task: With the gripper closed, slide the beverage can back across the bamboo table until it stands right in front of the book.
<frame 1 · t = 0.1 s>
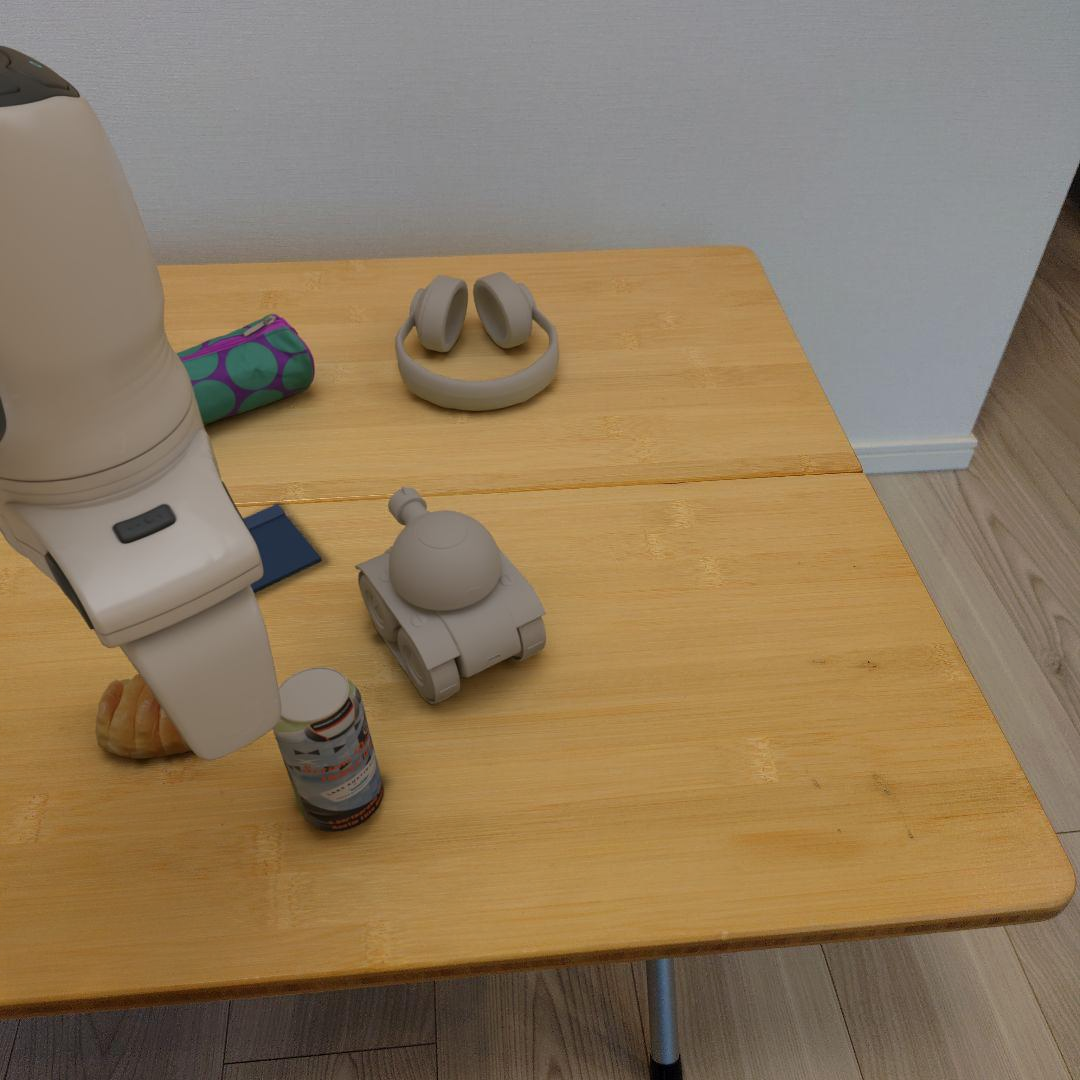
hand: (183, 671, 49), 23 cm above the table, tool pointing down, fingers open, 8 cm apart
pastry: (162, 725, 74), on the table
headphones: (477, 366, 110), on the table
pencil case: (217, 415, 103), on the table
beverage can: (340, 798, 70), on the table
toy tank: (450, 636, 81), on the table
book: (244, 557, 87), on the table
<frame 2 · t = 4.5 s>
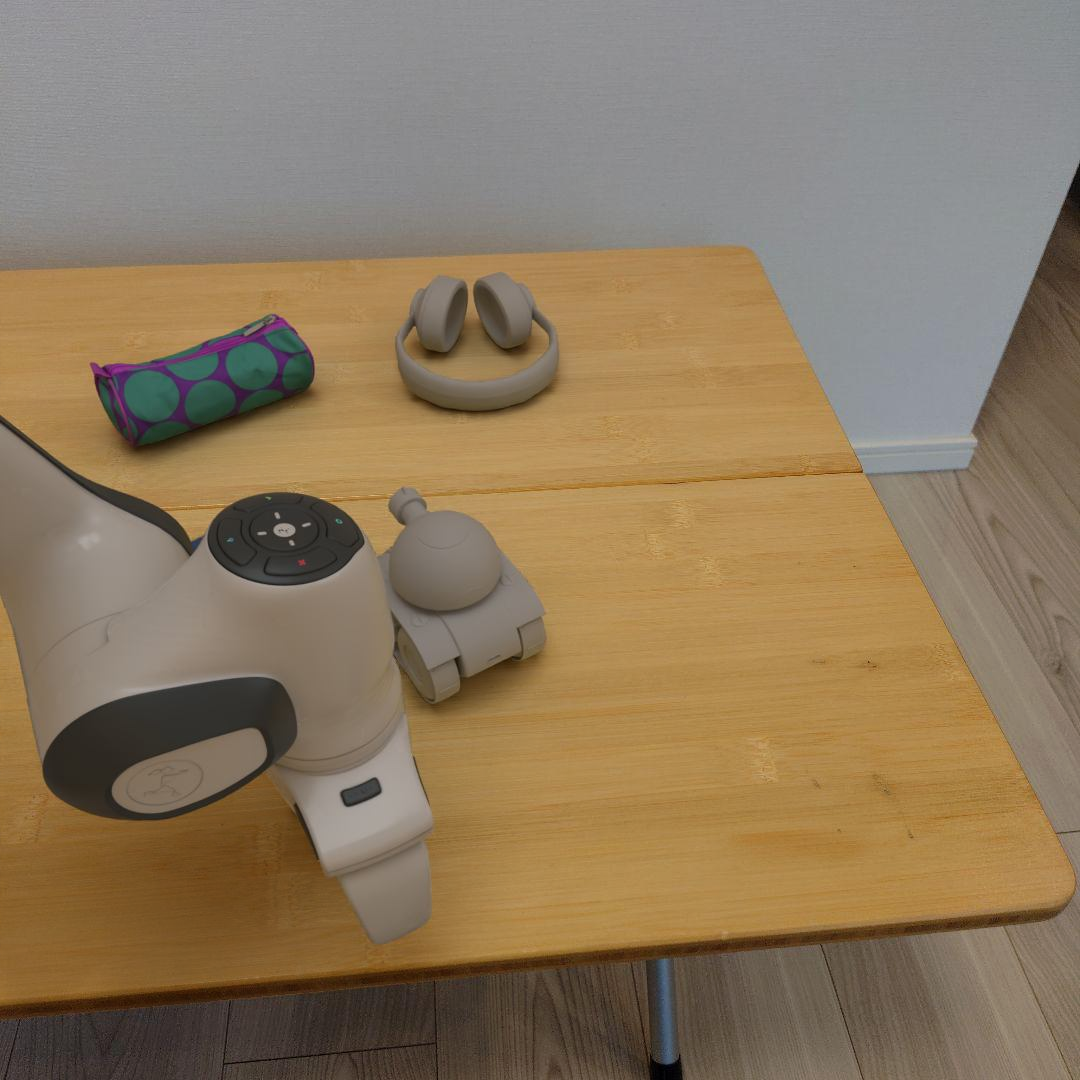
hand: (359, 839, 66), 2 cm above the table, tool pointing down, fingers closed
beverage can: (340, 795, 70), on the table, touching gripper
everything else where it was.
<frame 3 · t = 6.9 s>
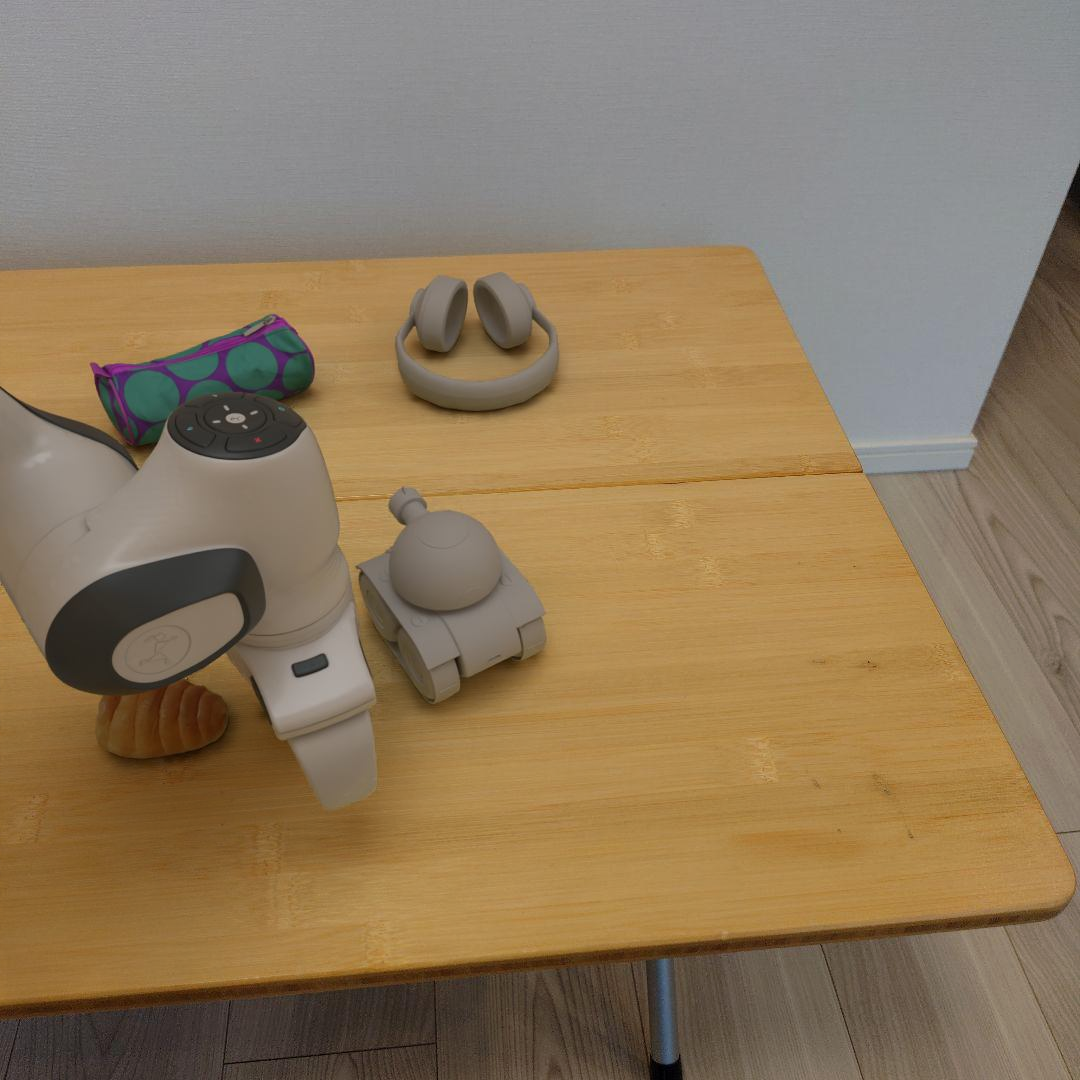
hand: (319, 733, 72), 2 cm above the table, tool pointing down, fingers closed
beverage can: (303, 700, 76), on the table, touching gripper
everything else where it was.
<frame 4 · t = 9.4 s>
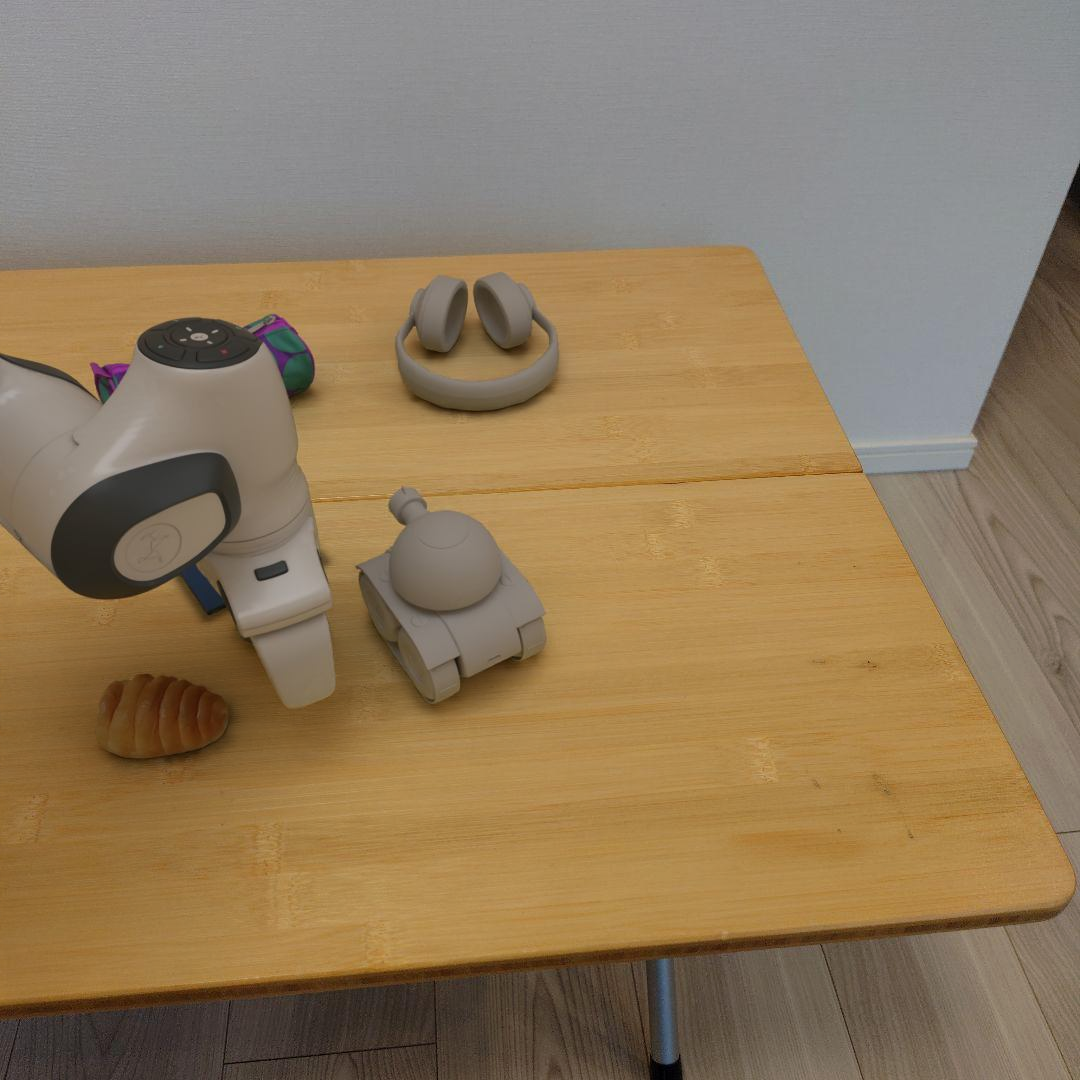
hand: (286, 651, 77), 2 cm above the table, tool pointing down, fingers closed
beverage can: (273, 625, 82), on the table, touching gripper
everything else where it was.
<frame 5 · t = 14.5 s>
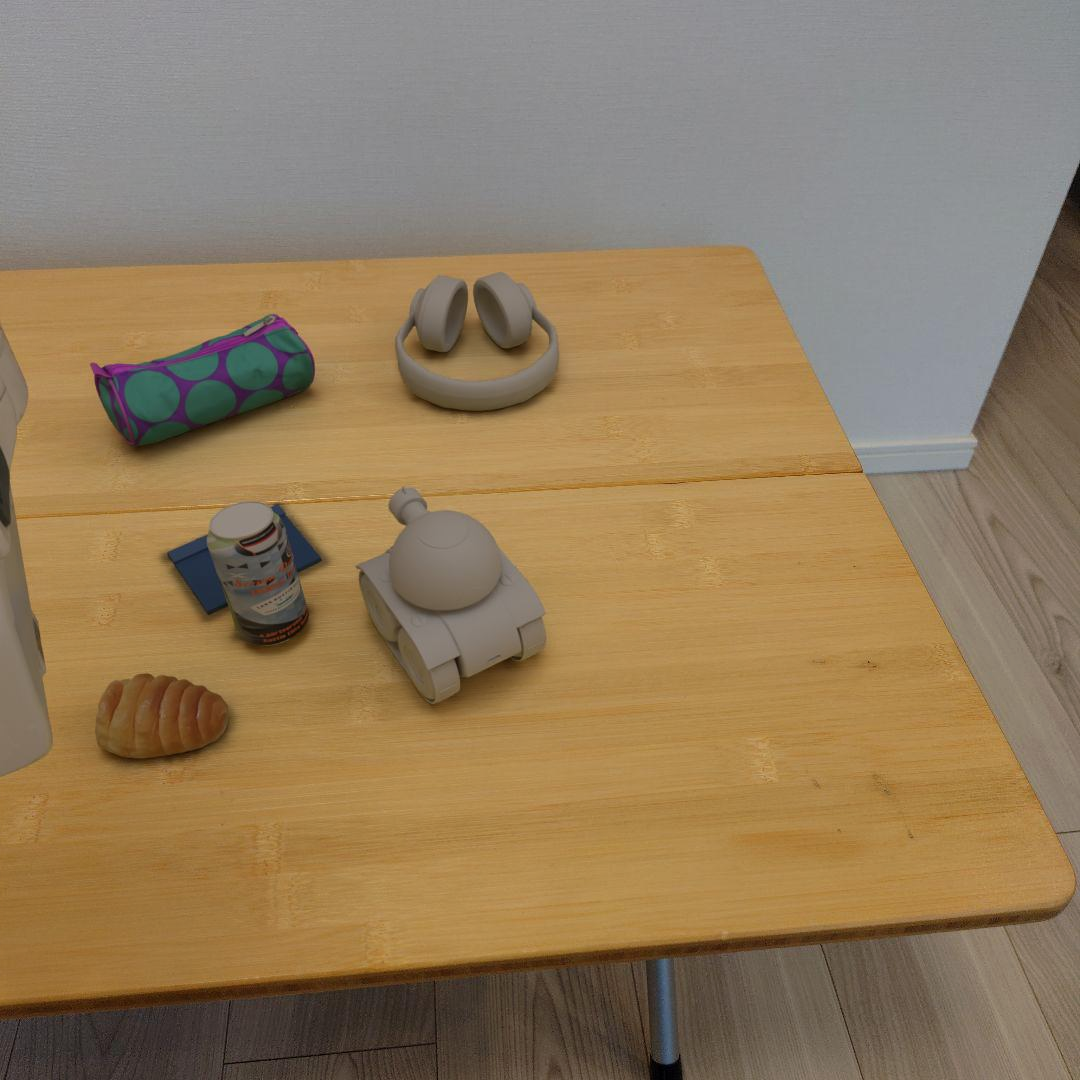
hand: (22, 658, 39), 31 cm above the table, tool pointing down, fingers closed
beverage can: (273, 625, 82), on the table
everything else where it was.
at the end: beverage can 8.9 cm from the book (horizontally); beverage can moved 18.6 cm from its start; beverage can tilted 0° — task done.
